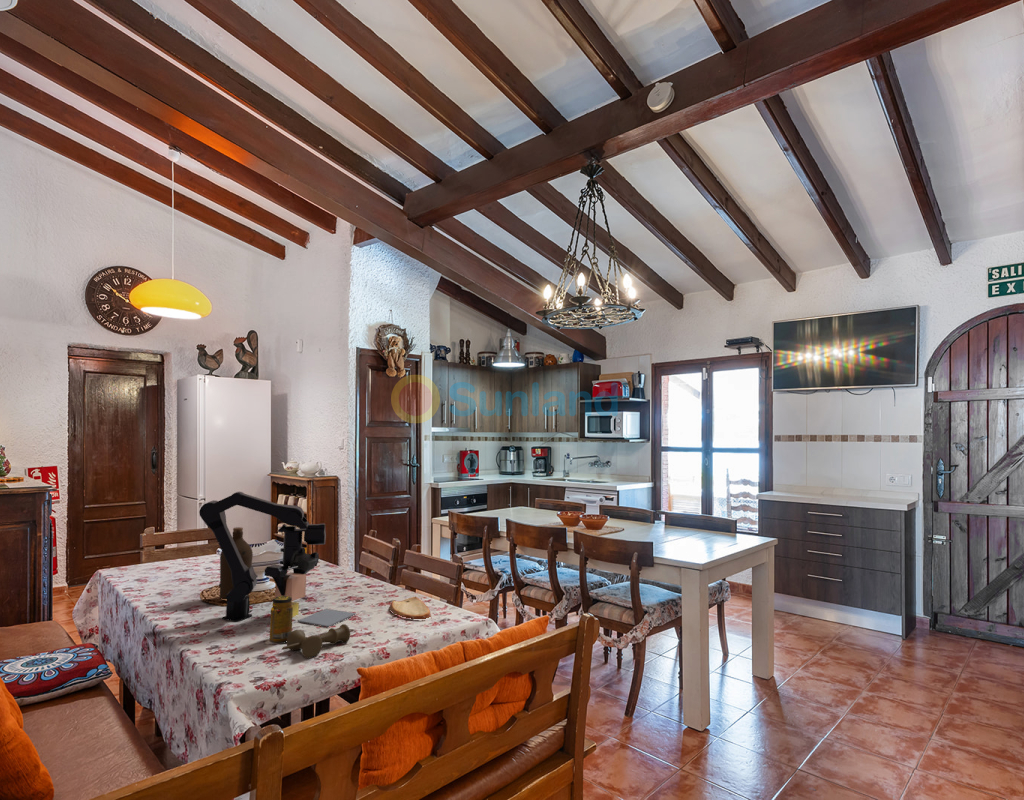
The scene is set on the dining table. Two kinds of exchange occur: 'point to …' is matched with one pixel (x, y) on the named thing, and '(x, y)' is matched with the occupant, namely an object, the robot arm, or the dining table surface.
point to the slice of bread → (410, 608)
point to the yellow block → (295, 608)
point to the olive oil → (224, 567)
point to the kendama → (316, 640)
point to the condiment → (280, 620)
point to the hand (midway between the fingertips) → (290, 592)
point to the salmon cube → (294, 586)
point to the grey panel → (326, 617)
